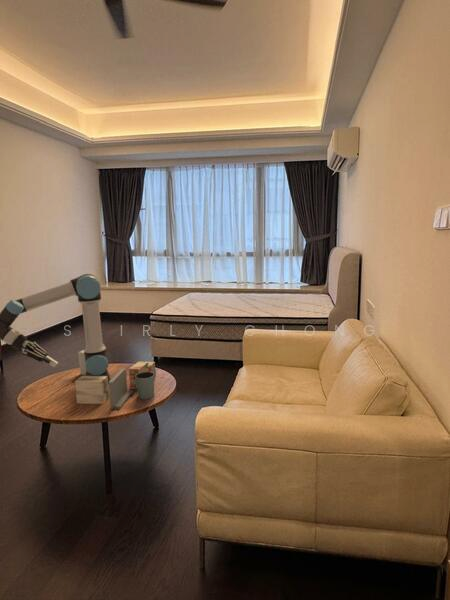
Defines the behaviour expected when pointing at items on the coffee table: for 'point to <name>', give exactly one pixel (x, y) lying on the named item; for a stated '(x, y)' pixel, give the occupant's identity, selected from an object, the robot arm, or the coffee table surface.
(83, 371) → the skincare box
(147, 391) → the green cup
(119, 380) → the stop board
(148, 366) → the stack of blocks
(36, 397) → the coffee table surface
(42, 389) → the coffee table surface
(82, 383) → the ash block
